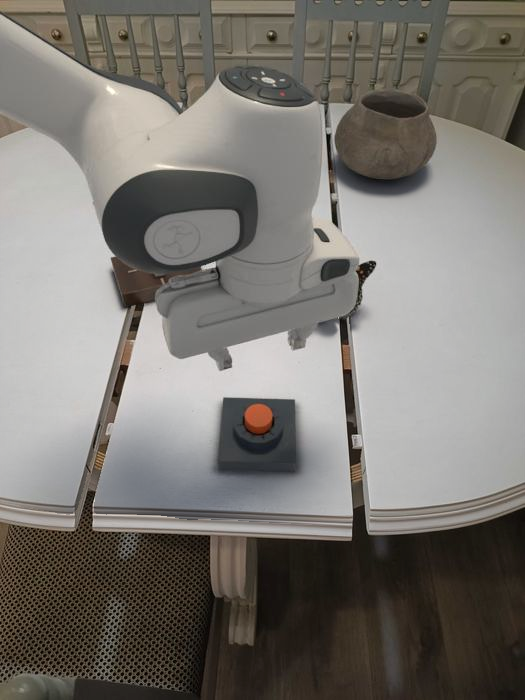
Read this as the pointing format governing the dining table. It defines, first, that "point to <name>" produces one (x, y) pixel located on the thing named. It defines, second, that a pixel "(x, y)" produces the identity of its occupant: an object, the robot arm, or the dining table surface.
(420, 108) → the clay pot
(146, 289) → the dial panel
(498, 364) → the dining table surface
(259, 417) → the orange button
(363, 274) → the butterfly
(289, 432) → the button box
